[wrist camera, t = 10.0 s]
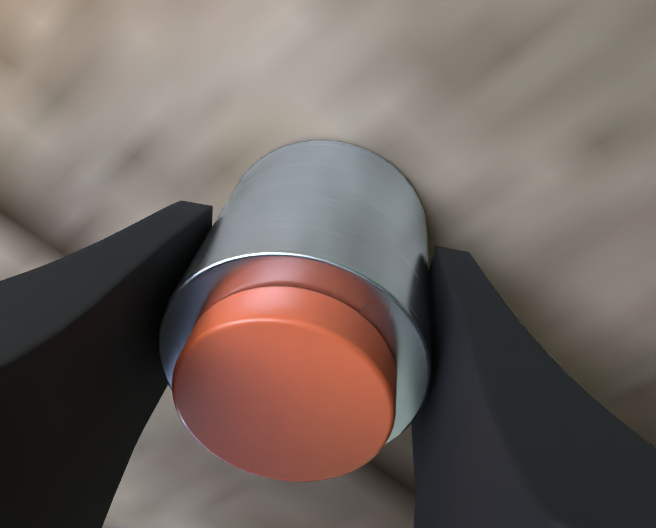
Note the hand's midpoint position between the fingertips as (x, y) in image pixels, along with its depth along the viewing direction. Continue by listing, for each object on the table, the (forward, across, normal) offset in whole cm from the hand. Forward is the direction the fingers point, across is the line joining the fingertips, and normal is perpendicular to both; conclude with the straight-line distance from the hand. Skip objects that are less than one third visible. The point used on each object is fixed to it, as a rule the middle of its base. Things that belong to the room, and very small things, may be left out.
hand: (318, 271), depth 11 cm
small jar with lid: (+1, 0, 0) cm, 1 cm away
